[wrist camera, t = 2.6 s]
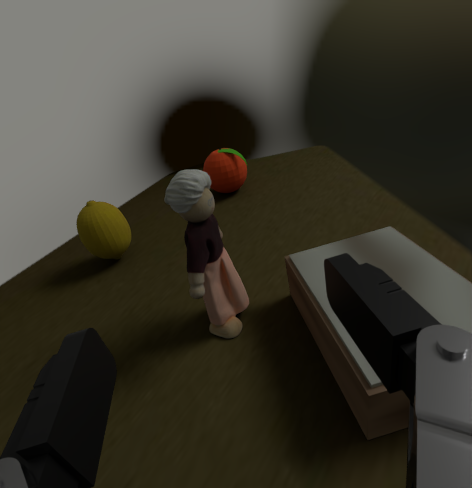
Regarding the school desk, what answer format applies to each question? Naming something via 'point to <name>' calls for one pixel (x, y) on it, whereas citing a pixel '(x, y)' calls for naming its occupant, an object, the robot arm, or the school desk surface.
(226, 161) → the clementine
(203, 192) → the grandmother figurine
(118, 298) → the school desk surface
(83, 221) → the lemon
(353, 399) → the plinth
